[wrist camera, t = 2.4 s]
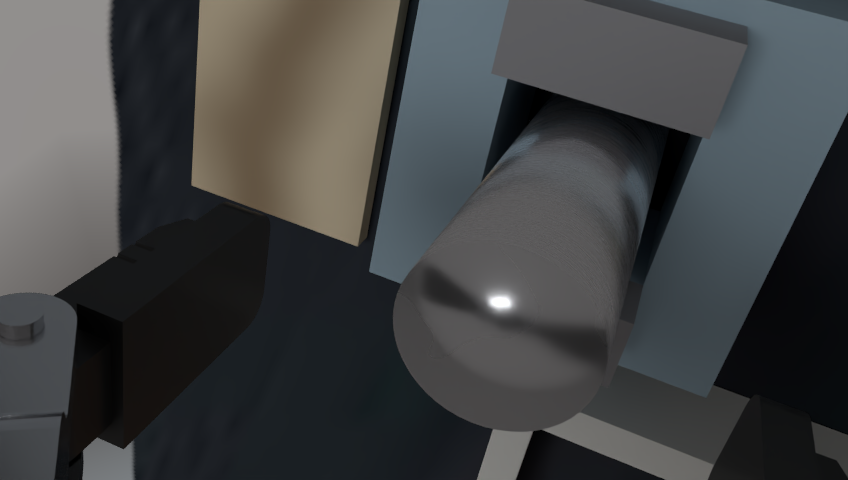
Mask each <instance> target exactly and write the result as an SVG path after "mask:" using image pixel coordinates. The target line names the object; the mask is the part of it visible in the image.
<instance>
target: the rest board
mask: <svg viewBox="0 0 848 480" xmlns="http://www.w3.org/2000/svg"><path fill="white" fill-rule="evenodd" d="M408 4H409V0H200V11H199V33H198V55H197V77H196V99H195V121H194V143H193V165H192V186H195V187H198V188H200V189H203V190H206V191H208V192H211V193H214V194H217V195H219V196H222V197H225V198H227V199H230V200H233V201H236V202H238V203H241V204H244V205H246V206H249V207H252V208H255V209H257V210H260V211H263V212H265V213H268V214H271V215H274V216H276V217H279V218H282V219H284V220H287V221H290V222H293V223H295V224H298V225H301V226H303V227H306V228H309V229H312V230H314V231H317V232H320V233H322V234H325V235H328V236H331V237H333V238H336V239H339V240H341V241H344V242H347V243H350V244H352V245H355V246H359V245H360V244H361V243H362V242H363V241H364V240H365V239H366V238H367V233H368V228H369V222H370V217H371V211H372V205H373V200H374V194H375V189H376V183H377V177H378V172H379V166H380V161H381V155H382V150H383V144H384V138H385V133H386V127H387V122H388V116H389V110H390V105H391V99H392V94H393V88H394V83H395V77H396V71H397V66H398V60H399V55H400V49H401V44H402V38H403V32H404V27H405V21H406V16H407V10H408Z"/></svg>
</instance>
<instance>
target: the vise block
mask: <svg viewBox="0 0 848 480" xmlns="http://www.w3.org/2000/svg"><path fill="white" fill-rule="evenodd" d="M536 88H541V89H544V90H547V91H551V92H554V93H557V94H560V95H564V96H567V97H570V98H574V99H577V100H580V101H584V102H587V103H590V104H594V105H597V106H600V107H603V108H607V109H610V110H613V111H617V112H620V113H623V114H627V115H630V116H633V117H636V118H640V119H643V120H646V121H650V122H653V123H656V124H660V125H663V126H666V127H670V128H673V129H676V130H679V131H683V132H686V133H689V134H690V137H689V139H688V142H687V145H686V147H685V150H684V152H683V155H682V157H681V160H680V162H679V165H678V167H677V170H676V173H675V175H674V178H673V180H672V183H671V185H670V188H669V190H668V193H667V195H666V198H665V201H664V203H663V206H662V208H661V211H658V210H655V209H652V208H649V209H648V213H647V217H646V220H645V224H644V228H643V232H642V236H641V239H640V243H639V247H638V251H637V254H636V258H635V262H634V266H633V269H632V273H631V277H630V281H629V285H628V288H627V292H626V296H625V300H624V303H623V307H622V311H621V315H620V319H619V322H618V326H617V330H616V334H615V337H614V341H613V345H612V349H611V352H610V356H609V360H608V364H607V368H606V371H605V374H604V378H603V381H602V383H601V386H604V387H607V388H609V385H610V383H611V380H612V378H613V375H614V373H615V370H616V368H617V365H620V366H622V367H625V368H628V369H630V370H633V371H636V372H638V373H641V374H644V375H646V376H649V377H652V378H654V379H657V380H660V381H662V382H665V383H668V384H670V385H673V386H676V387H678V388H681V389H684V390H686V391H689V392H692V393H694V394H697V395H700V396H702V397H705V398H707V396H708V394H709V392H710V390H711V388H712V386H713V384H714V382H715V380H716V377H717V375H718V373H719V371H720V369H721V367H722V365H723V363H724V361H725V359H726V357H727V355H728V353H729V351H730V349H731V347H732V345H733V343H734V341H735V339H736V337H737V335H738V333H739V331H740V329H741V327H742V325H743V323H744V321H745V319H746V317H747V315H748V313H749V311H750V309H751V307H752V305H753V303H754V301H755V299H756V297H757V295H758V293H759V291H760V289H761V287H762V284H763V282H764V280H765V278H766V276H767V274H768V272H769V270H770V268H771V266H772V264H773V262H774V260H775V258H776V256H777V254H778V252H779V250H780V248H781V246H782V244H783V242H784V240H785V238H786V236H787V234H788V232H789V230H790V228H791V226H792V224H793V222H794V220H795V218H796V216H797V214H798V212H799V210H800V208H801V206H802V204H803V202H804V200H805V198H806V196H807V194H808V191H809V189H810V187H811V185H812V183H813V181H814V179H815V177H816V175H817V173H818V171H819V169H820V167H821V165H822V163H823V161H824V159H825V157H826V155H827V153H828V151H829V149H830V147H831V145H832V143H833V141H834V139H835V137H836V135H837V133H838V131H839V129H840V127H841V125H842V123H843V121H844V119H845V117H846V115H847V113H848V0H420V1H419V6H418V11H417V17H416V22H415V28H414V33H413V38H412V44H411V49H410V54H409V60H408V65H407V71H406V76H405V81H404V87H403V92H402V98H401V103H400V108H399V114H398V119H397V124H396V130H395V135H394V141H393V146H392V151H391V157H390V162H389V168H388V173H387V178H386V184H385V189H384V194H383V200H382V205H381V211H380V216H379V221H378V227H377V232H376V238H375V243H374V248H373V254H372V259H371V264H370V270H369V272H371V273H374V274H377V275H379V276H382V277H385V278H387V279H390V280H393V281H395V282H398V283H401V284H402V282H403V280H404V279H405V277H406V276H407V275H408V273H409V272H410V270H411V269H412V268H413V267H414V265H415V264H416V263H417V262H418V261H419V259H420V258H421V257H422V256H423V254H424V253H425V252H426V251H427V249H428V248H429V247H430V246H431V244H432V243H433V242H434V241H435V239H436V238H437V237H438V236H439V234H440V233H441V232H442V231H443V229H444V228H445V227H446V226H447V224H448V223H449V222H450V221H451V220H452V218H453V217H454V216H455V215H456V213H457V212H458V211H459V210H460V208H461V207H462V206H463V205H464V203H465V202H466V201H467V200H468V198H469V197H470V196H471V195H472V193H473V192H474V191H475V190H476V188H477V187H478V186H479V185H480V184H481V182H482V181H483V180H484V179H485V177H486V176H487V175H488V174H489V172H490V171H491V170H492V169H493V167H494V166H495V165H496V164H497V162H498V161H499V160H500V159H501V157H502V156H503V155H504V154H505V152H506V151H507V150H508V149H509V147H510V146H511V145H512V144H513V143H514V141H515V140H516V139H517V138H518V136H519V135H520V134H521V133H522V131H523V130H524V129H525V128H526V124H527V120H528V117H529V113H530V110H531V106H532V102H533V99H534V95H535V91H536Z"/></svg>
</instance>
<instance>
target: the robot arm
mask: <svg viewBox="0 0 848 480" xmlns="http://www.w3.org/2000/svg"><path fill="white" fill-rule="evenodd" d="M269 236H270V222H269V219H268V217H267V216H265V215H262V214H259V213H256V212H254V211H251V210H248V209H245V208H242V207H240V206H237V205H234V204H231V203H229V202H224V203H221V204H219V205H218V206H216V207H215V208H214V209H212V210H211V211H209V212H208V213H206V214H205V215H203V216H202V217H201V218H199V219H198V220H196V221H193V220H190V219H185V220H181V221H178V222H174V223H171V224H167V225H164V226H160V227H158V228H156V229H155V230H153V231H151V232H150V233H148V234H147V235H145V236H144V237H142V238H141V239H139V240H138V241H136V244H135V245H130V246H129V247H127V248H126V249H124V250H123V251H121V252H119V253H118V256H117V257H112V258H110V259H109V260H107V261H106V262H105V263H103V264H101V265H100V266H98V267H97V268H95V269H94V270H92V271H91V272H89V273H88V274H86V275H84V276H83V277H81V278H80V279H78V280H77V281H75V282H74V283H72V284H71V285H69V286H68V287H66V288H65V289H63V290H62V291H60V292H59V293H57V294H55V295H54V296H51V295H47V294H40V293H16V294H9V295H5V296H1V297H0V480H82V476H83V450H84V449H85V448H86V447H87V446H88V445H89V444H90V443H91V442H92V441H93V440H94V439H96V438H97V437H98V438H100V439H102V440H105V441H107V442H109V443H111V444H113V445H116V446H118V447H120V448H122V449H124V448H125V447H126V446H127V445H128V444H129V443H131V442H132V441H133V440H134V439H135V438H136V437H137V436H138V435H139V434H140V433H141V432H142V431H143V430H144V429H145V428H146V427H147V426H148V425H149V424H150V423H151V422H152V421H153V420H154V419H155V418H156V417H157V416H158V415H159V414H160V413H161V412H162V411H163V410H164V409H165V408H166V407H167V406H168V405H169V404H170V403H171V402H172V401H173V400H174V399H175V398H176V397H177V396H178V395H179V394H180V393H181V392H182V391H183V390H184V389H185V388H186V387H187V386H188V385H189V384H190V383H191V382H192V381H193V380H194V379H195V378H196V377H197V376H199V375H200V374H201V373H202V372H203V371H204V370H205V369H206V368H207V367H208V366H209V365H210V364H211V363H212V362H213V361H214V360H215V359H216V358H217V357H218V356H219V355H220V354H221V353H222V352H223V351H224V350H225V349H226V348H227V347H228V346H229V345H230V344H231V343H232V342H233V341H234V340H235V339H236V338H237V337H238V336H239V335H240V334H241V333H242V332H243V331H244V330H245V329H246V328H247V327H248V326H249V325H250V324H251V322H252V321H253V319H254V318H255V316H256V314H257V312H258V310H259V307H260V305H261V301H262V298H263V293H264V284H265V275H266V265H267V255H268V246H269ZM708 480H848V477H847V475H846V474H845V472H844V471H843V469H842V468H841V466H840V465H839V463H838V461H837V460H834V459H832V458H829V457H826V456H824V455H821V454H818V453H816V451H815V444H814V437H813V430H812V423H811V418H810V415H809V414H808V413H807V412H804V411H801V410H798V409H795V408H793V407H790V406H787V405H784V404H782V403H779V402H776V401H773V400H771V399H768V398H765V397H762V396H759V395H754V396H753V397H752V398H751V399H750V400H749V401H748V403H747V405H746V406H745V408H744V410H743V412H742V414H741V416H740V417H739V419H738V421H737V423H736V425H735V427H734V429H733V431H732V432H731V434H730V436H729V438H728V440H727V442H726V444H725V446H724V447H723V449H722V451H721V453H720V455H719V457H718V459H717V460H716V462H715V464H714V466H713V468H712V470H711V473H710V475H709V478H708Z"/></svg>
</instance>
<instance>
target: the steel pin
mask: <svg viewBox="0 0 848 480" xmlns="http://www.w3.org/2000/svg"><path fill="white" fill-rule="evenodd" d="M669 130H670V127H666V126H663V125H660V124H656V123H653V122H650V121H646V120H643V119H640V118H636V117H633V116H630V115H627V114H623V113H620V112H617V111H613V110H610V109H607V108H603V107H600V106H597V105H594V104H590V103H587V102H584V101H580V100H577V99H574V98H570V97H567V96H564V95H560V94H557V93H553V94H552V95H551V97H550V98H549V99H548V100H547V102H546V103H545V104H544V105H543V107H542V108H541V109H540V110H539V111H538V113H537V114H536V115H535V116H534V118H533V119H532V120H531V121H530V123H529V124H528V125H527V126H526V128H525V129H524V130H523V131H522V133H521V134H520V135H519V136H518V138H517V139H516V140H515V141H514V143H513V144H512V145H511V146H510V147H509V149H508V150H507V151H506V152H505V154H504V155H503V156H502V157H501V159H500V160H499V161H498V162H497V164H496V165H495V166H494V167H493V169H492V170H491V171H490V172H489V174H488V175H487V176H486V177H485V179H484V180H483V181H482V182H481V184H480V185H479V186H478V187H477V188H476V190H475V191H474V192H473V193H472V195H471V196H470V197H469V198H468V200H467V201H466V202H465V203H464V205H463V206H462V207H461V208H460V210H459V211H458V212H457V213H456V215H455V216H454V217H453V218H452V220H451V221H450V222H449V223H448V224H447V226H446V227H445V228H444V229H443V231H442V232H441V233H440V234H439V236H438V237H437V238H436V239H435V241H434V242H433V243H432V244H431V246H430V247H429V248H428V249H427V251H426V252H425V253H424V254H423V256H422V257H421V258H420V259H419V261H418V262H417V263H416V264H415V265H414V267H413V268H412V269H411V270H410V272H409V273H408V275H407V276H406V277H405V279H404V280H403V282H402V284H401V286H400V288H399V290H398V293H397V296H396V300H395V304H394V311H393V328H394V335H395V340H396V343H397V347H398V350H399V352H400V355H401V357H402V359H403V362H404V363H405V365H406V367H407V369H408V370H409V372H410V373H411V375H412V376H413V378H414V379H415V380H416V382H417V383H418V384H419V385H420V386H421V387H422V389H423V390H424V391H425V392H426V393H427V394H428V395H429V396H431V397H432V398H433V399H434V400H435V401H436V402H437V403H439V404H440V405H442V406H443V407H444V408H446V409H447V410H449V411H450V412H452V413H454V414H455V415H457V416H459V417H461V418H463V419H465V420H467V421H470V422H472V423H475V424H478V425H480V426H483V427H487V428H491V429H496V430H502V431H509V432H528V431H537V430H542V429H547V428H550V427H553V426H556V425H559V424H561V423H563V422H565V421H567V420H569V419H571V418H572V417H574V416H575V415H576V414H578V413H579V412H581V411H582V410H583V409H584V408H585V407H586V406H587V405H588V404H589V403H590V402H591V400H592V399H593V397H594V396H595V395H596V393H597V391H598V389H599V387H600V385H601V383H602V381H603V378H604V374H605V371H606V368H607V364H608V360H609V356H610V352H611V349H612V345H613V341H614V337H615V334H616V330H617V326H618V322H619V319H620V315H621V311H622V307H623V303H624V300H625V296H626V292H627V288H628V285H629V281H630V277H631V273H632V269H633V266H634V262H635V258H636V254H637V251H638V247H639V243H640V239H641V236H642V232H643V228H644V224H645V220H646V217H647V213H648V209H649V205H650V202H651V198H652V194H653V190H654V187H655V183H656V179H657V175H658V171H659V168H660V164H661V160H662V156H663V153H664V149H665V145H666V141H667V138H668V134H669Z"/></svg>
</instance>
